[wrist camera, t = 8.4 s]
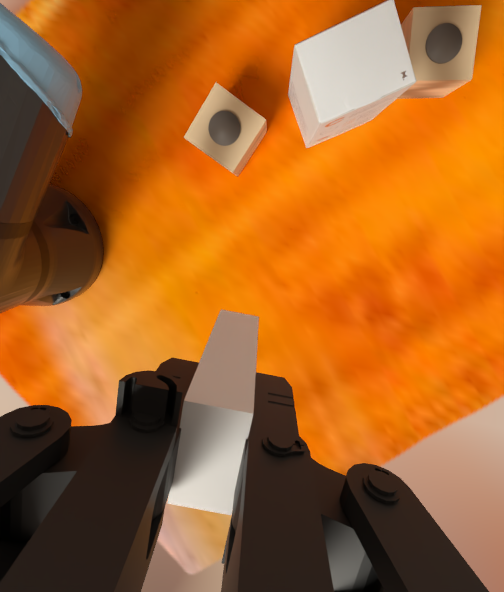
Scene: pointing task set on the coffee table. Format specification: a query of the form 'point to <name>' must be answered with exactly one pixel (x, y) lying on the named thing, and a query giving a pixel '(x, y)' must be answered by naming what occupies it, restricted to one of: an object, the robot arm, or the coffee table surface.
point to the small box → (349, 73)
